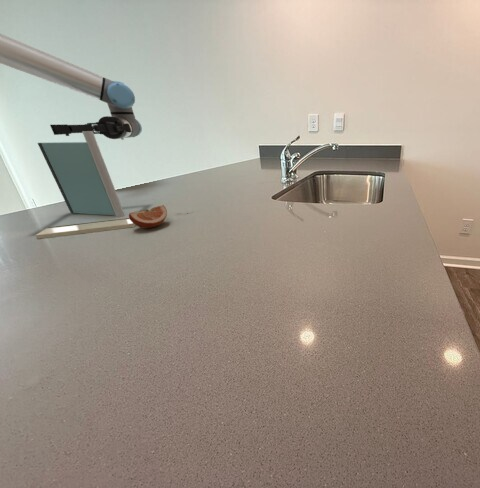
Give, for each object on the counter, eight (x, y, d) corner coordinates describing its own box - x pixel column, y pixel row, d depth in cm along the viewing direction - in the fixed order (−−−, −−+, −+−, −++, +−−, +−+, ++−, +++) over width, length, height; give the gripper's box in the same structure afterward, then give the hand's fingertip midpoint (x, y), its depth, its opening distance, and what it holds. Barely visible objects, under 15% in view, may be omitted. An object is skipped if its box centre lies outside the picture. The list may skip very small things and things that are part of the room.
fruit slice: (163, 219, 72) (157, 202, 70) (176, 224, 69) (171, 206, 66) (130, 229, 66) (122, 211, 64) (142, 235, 62) (135, 215, 60)
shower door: (70, 213, 74) (37, 142, 66) (101, 203, 83) (75, 140, 74) (114, 215, 72) (85, 142, 64) (141, 205, 80) (119, 139, 72)
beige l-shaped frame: (37, 239, 62) (-21, 135, 52) (71, 217, 75) (30, 132, 65) (133, 227, 67) (98, 131, 57) (149, 209, 81) (122, 129, 71)
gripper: (155, 137, 99) (131, 141, 81) (80, 139, 94) (36, 144, 76) (149, 115, 96) (123, 114, 78) (71, 116, 91) (23, 115, 73)
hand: (80, 129), depth 77 cm, fingers open, 13 cm apart
